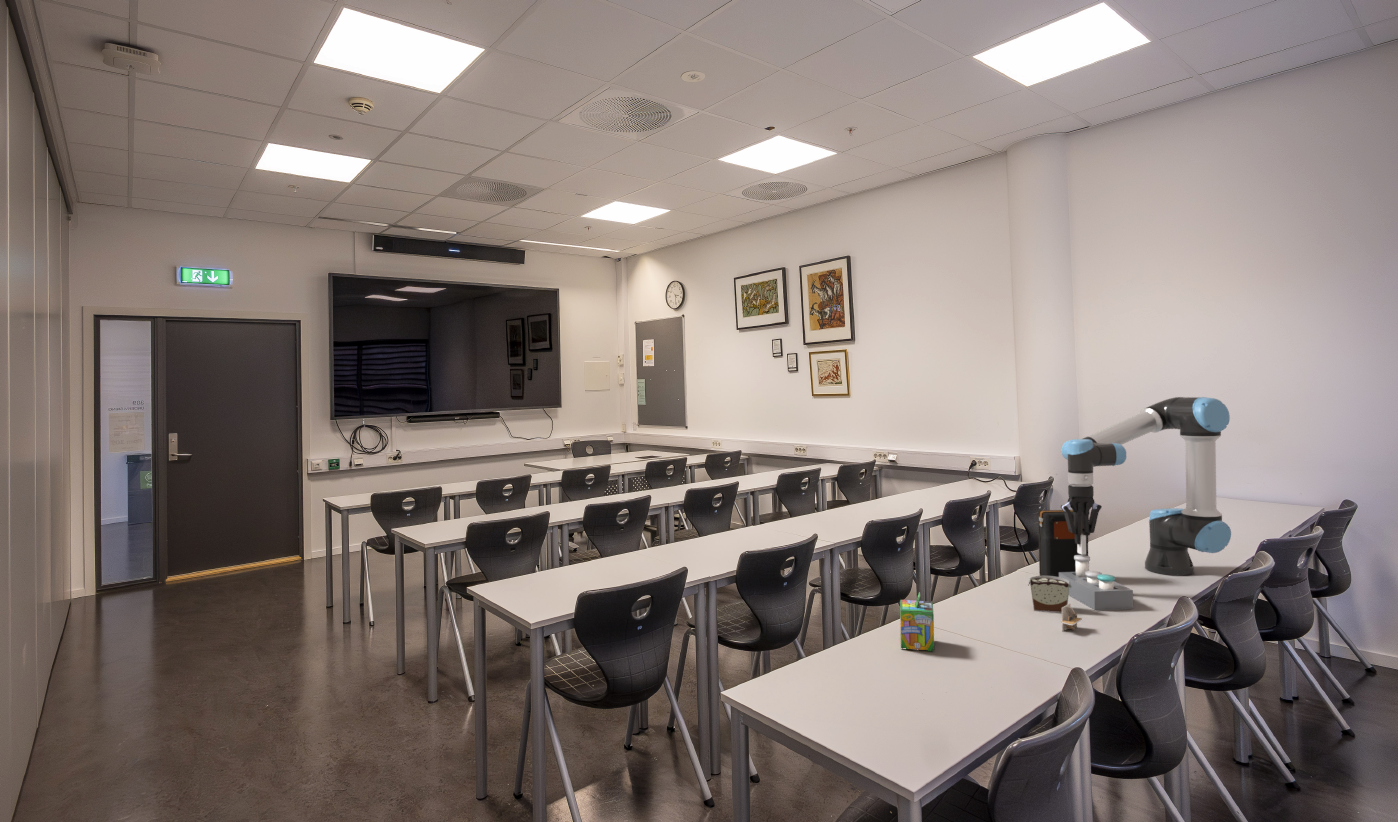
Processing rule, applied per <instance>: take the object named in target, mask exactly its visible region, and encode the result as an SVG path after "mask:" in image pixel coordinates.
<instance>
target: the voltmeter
mask: <svg viewBox="0 0 1398 822" xmlns="http://www.w3.org/2000/svg"><path fill="white" fill-rule="evenodd" d="M1070 512H1071V515H1072V518H1073V522H1074V514H1073V509H1070ZM1037 513H1038V514H1037V515H1038V517H1037V518H1038V520H1037V522H1038V558H1039V559H1038V562H1039V563H1038V564H1039V566H1038V567H1039V576H1054V577H1059V572H1076V562H1075V560H1074V556H1075V555H1082V554H1079V553H1077V544H1076V543H1075V534H1074V533H1071V532H1069V530H1068V526H1067V522H1066V518H1065V515H1064V511H1063V510H1062V509H1046V510H1043V509H1041V510H1038V511H1037ZM1081 534H1082V527H1081ZM1085 555H1086V556H1089V543H1088V544H1086V554H1085Z"/></svg>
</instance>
